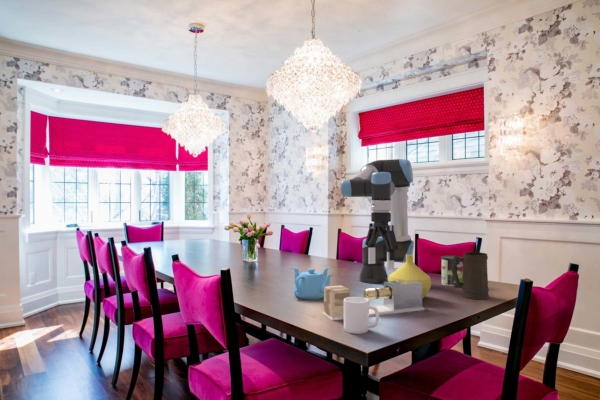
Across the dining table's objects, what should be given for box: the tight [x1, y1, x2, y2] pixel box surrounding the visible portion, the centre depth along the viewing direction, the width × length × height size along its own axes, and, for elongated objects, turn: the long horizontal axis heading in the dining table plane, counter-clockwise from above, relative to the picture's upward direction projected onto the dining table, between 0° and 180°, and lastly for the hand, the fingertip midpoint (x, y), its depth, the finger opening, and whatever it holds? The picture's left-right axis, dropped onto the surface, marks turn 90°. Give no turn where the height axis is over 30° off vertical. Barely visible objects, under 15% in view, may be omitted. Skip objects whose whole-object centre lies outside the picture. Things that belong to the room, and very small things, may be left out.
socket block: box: [323, 284, 350, 317], centre depth 148 cm, size 7×7×10 cm
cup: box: [343, 296, 380, 335], centre depth 131 cm, size 8×12×10 cm
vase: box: [387, 255, 432, 300], centre depth 175 cm, size 18×18×19 cm
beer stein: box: [452, 251, 490, 301], centre depth 178 cm, size 15×11×20 cm
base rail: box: [321, 304, 425, 321], centre depth 154 cm, size 9×40×1 cm, turn 110°
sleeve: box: [383, 280, 423, 311], centre depth 158 cm, size 7×13×10 cm, turn 110°
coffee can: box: [441, 255, 463, 287], centre depth 204 cm, size 10×10×14 cm
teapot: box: [292, 265, 334, 301], centre depth 179 cm, size 17×19×12 cm
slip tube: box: [363, 287, 392, 301], centre depth 156 cm, size 20×4×4 cm, turn 110°
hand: (380, 266), depth 154 cm, fingers open, 13 cm apart
